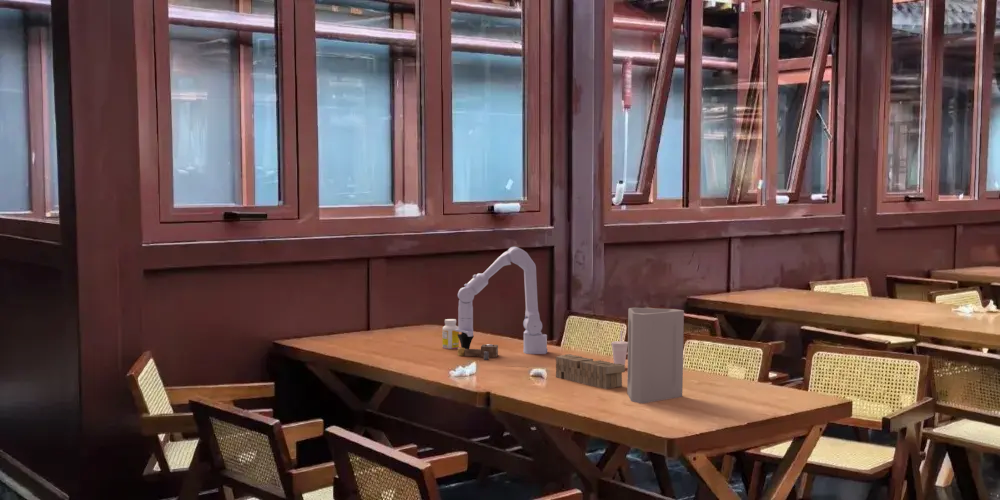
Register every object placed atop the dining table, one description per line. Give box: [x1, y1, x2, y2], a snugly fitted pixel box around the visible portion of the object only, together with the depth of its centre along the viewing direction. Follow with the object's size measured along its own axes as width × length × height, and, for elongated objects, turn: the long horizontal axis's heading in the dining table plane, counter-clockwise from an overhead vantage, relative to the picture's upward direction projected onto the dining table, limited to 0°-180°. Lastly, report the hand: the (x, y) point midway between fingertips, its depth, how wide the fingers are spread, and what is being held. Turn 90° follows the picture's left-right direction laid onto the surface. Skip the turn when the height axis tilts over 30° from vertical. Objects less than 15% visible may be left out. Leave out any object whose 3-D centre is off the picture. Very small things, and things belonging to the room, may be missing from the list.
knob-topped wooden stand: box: [457, 344, 499, 358], centre depth 413 cm, size 15×6×4 cm, turn 84°
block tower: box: [555, 353, 626, 390], centre depth 369 cm, size 8×8×29 cm
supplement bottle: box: [441, 318, 460, 350], centre depth 433 cm, size 7×7×13 cm
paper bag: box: [626, 307, 685, 404], centre depth 344 cm, size 19×15×28 cm
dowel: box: [483, 351, 490, 361], centre depth 404 cm, size 2×2×4 cm
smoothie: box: [610, 330, 628, 365], centre depth 396 cm, size 6×6×14 cm
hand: (465, 352), depth 419 cm, fingers closed
